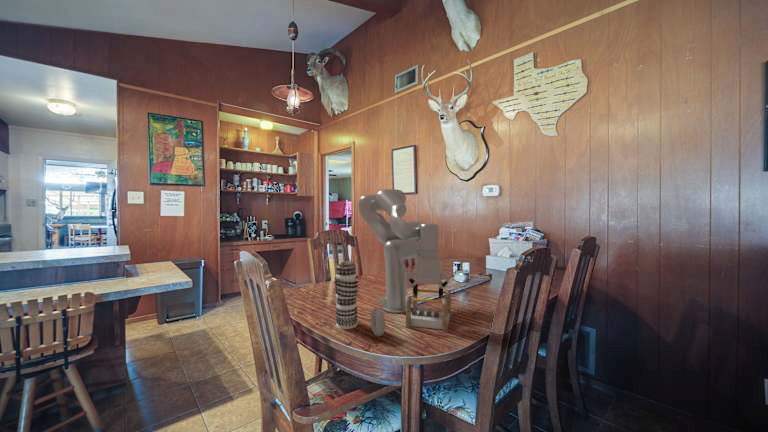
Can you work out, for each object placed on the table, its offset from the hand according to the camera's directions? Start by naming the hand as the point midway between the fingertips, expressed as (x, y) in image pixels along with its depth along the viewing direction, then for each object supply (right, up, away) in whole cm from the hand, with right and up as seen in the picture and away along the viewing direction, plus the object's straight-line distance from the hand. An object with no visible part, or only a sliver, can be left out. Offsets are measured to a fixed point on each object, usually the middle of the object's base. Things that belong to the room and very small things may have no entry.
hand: (427, 296), depth 123 cm
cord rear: (+2, 0, +6) cm, 6 cm away
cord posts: (0, -11, 0) cm, 11 cm away
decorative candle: (-32, -11, -1) cm, 34 cm away
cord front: (-2, 0, -7) cm, 7 cm away
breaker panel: (0, -11, 0) cm, 11 cm away
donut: (-20, -11, -12) cm, 26 cm away
